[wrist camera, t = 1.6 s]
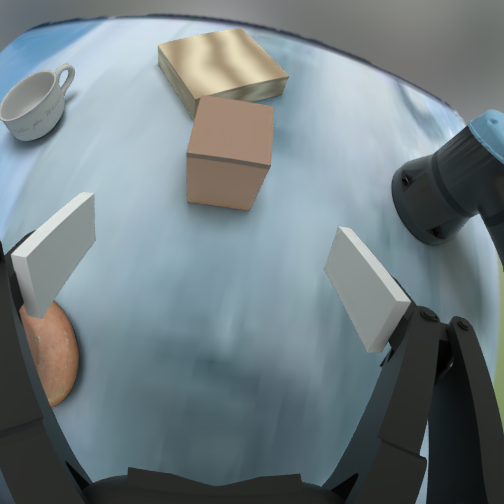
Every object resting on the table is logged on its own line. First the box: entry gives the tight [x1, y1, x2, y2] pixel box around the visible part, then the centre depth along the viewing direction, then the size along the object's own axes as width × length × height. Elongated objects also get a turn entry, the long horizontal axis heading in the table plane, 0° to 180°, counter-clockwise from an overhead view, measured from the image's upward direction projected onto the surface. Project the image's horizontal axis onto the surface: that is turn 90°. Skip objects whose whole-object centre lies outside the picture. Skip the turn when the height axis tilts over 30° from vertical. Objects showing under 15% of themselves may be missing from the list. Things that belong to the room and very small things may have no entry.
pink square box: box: [187, 95, 274, 211], centre depth 33 cm, size 8×8×11 cm
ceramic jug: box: [19, 301, 79, 407], centre depth 20 cm, size 18×14×14 cm
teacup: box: [0, 64, 75, 141], centre depth 32 cm, size 14×11×8 cm
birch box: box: [158, 28, 289, 120], centre depth 41 cm, size 16×16×5 cm
